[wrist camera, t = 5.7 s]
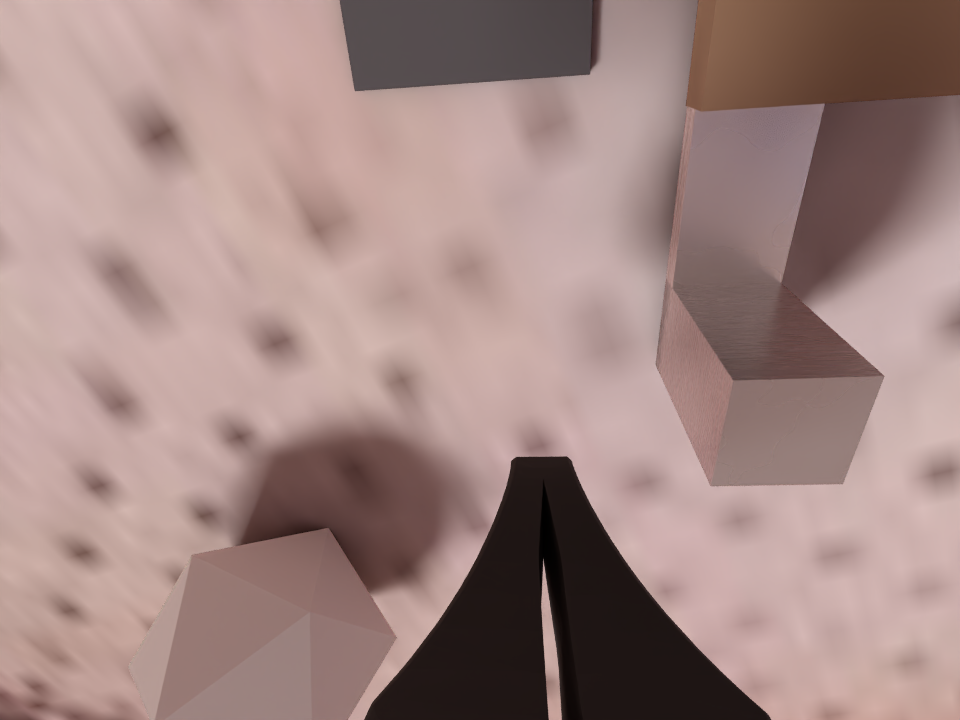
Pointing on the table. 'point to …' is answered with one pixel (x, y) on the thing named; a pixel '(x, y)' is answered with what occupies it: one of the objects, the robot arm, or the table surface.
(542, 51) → the dark grey plate
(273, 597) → the die
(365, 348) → the table surface
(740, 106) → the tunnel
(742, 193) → the hook
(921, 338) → the table surface
